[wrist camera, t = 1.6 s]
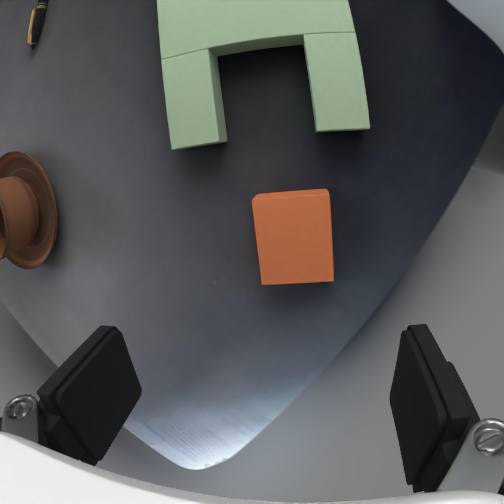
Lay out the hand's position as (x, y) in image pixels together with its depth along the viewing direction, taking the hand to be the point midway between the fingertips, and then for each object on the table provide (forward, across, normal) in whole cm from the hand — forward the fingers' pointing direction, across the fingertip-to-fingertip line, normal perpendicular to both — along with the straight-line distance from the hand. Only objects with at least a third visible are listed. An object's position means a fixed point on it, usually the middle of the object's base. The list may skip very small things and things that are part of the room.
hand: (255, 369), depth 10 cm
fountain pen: (+15, +21, -28) cm, 38 cm away
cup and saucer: (+15, +25, -5) cm, 30 cm away
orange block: (+15, -1, 0) cm, 15 cm away
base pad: (+15, 0, -15) cm, 21 cm away
